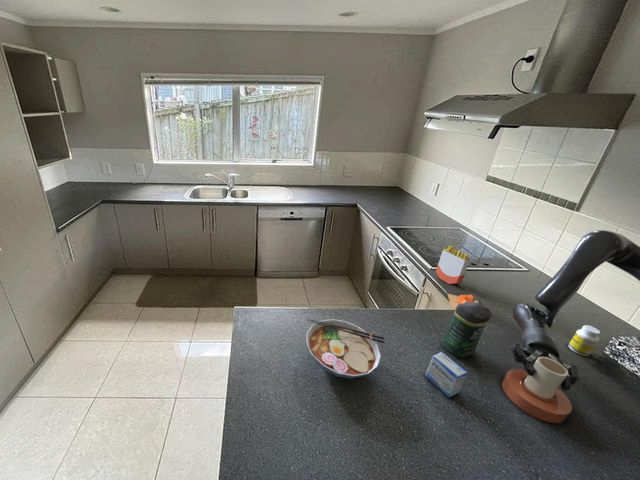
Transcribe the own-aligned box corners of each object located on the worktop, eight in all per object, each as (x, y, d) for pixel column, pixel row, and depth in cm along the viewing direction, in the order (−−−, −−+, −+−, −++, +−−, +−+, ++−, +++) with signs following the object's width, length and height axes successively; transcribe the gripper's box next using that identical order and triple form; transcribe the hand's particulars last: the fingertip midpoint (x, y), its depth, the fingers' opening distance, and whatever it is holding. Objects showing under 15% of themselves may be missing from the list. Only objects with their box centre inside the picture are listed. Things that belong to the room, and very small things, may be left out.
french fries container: (440, 273, 145) (451, 242, 138) (461, 285, 136) (473, 252, 129) (434, 275, 143) (444, 244, 136) (454, 287, 134) (467, 254, 127)
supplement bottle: (566, 342, 103) (578, 321, 100) (587, 349, 101) (600, 328, 97) (569, 351, 99) (583, 330, 96) (591, 359, 97) (606, 337, 93)
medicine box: (424, 376, 88) (432, 355, 84) (434, 371, 89) (442, 351, 86) (449, 398, 81) (458, 377, 78) (458, 393, 83) (468, 372, 79)
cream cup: (551, 387, 81) (565, 364, 78) (555, 403, 76) (570, 379, 73) (523, 375, 84) (535, 352, 81) (525, 390, 80) (538, 367, 76)
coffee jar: (457, 361, 94) (476, 317, 86) (437, 343, 100) (453, 301, 93) (478, 354, 96) (498, 311, 89) (457, 338, 103) (474, 296, 96)
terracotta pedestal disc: (560, 395, 83) (566, 385, 82) (571, 434, 73) (579, 424, 71) (500, 369, 91) (505, 360, 89) (503, 401, 81) (508, 391, 79)
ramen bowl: (292, 375, 86) (295, 356, 83) (308, 326, 106) (310, 309, 102) (379, 407, 78) (386, 387, 74) (378, 348, 97) (383, 329, 94)
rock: (451, 308, 119) (454, 300, 117) (447, 293, 129) (449, 285, 127) (485, 317, 114) (489, 309, 113) (478, 301, 124) (481, 293, 123)
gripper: (514, 324, 91) (519, 357, 79) (577, 346, 83) (593, 386, 71) (505, 341, 94) (509, 375, 82) (565, 364, 86) (579, 406, 74)
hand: (548, 380), depth 76 cm, fingers closed on cream cup, 6 cm apart
